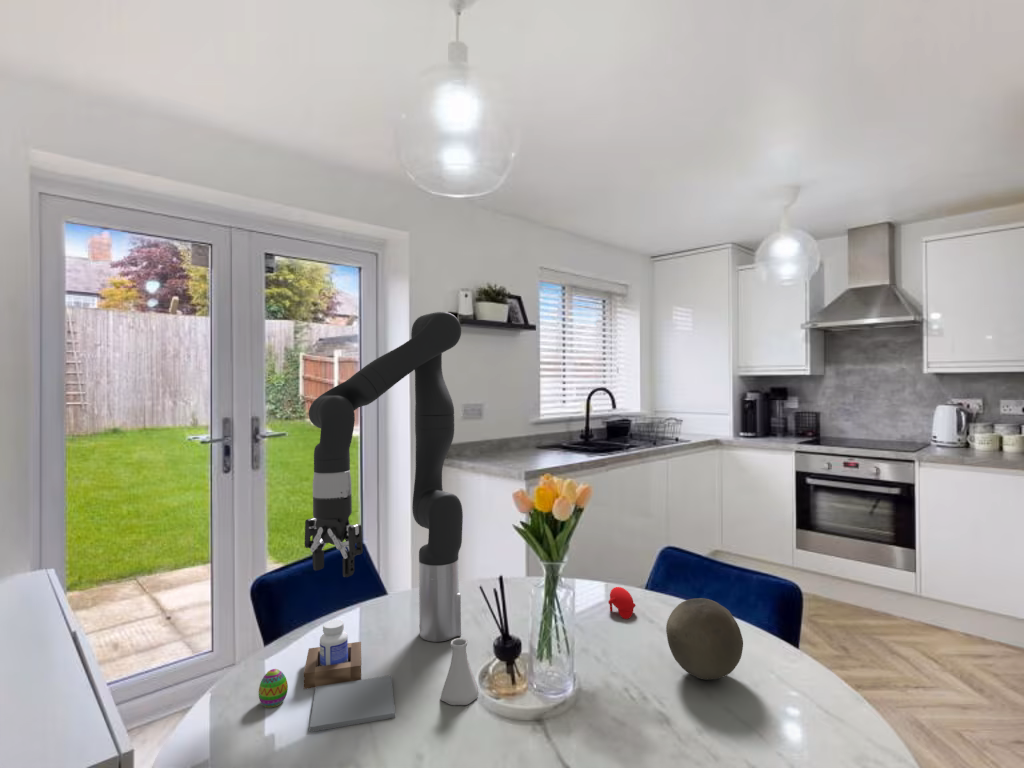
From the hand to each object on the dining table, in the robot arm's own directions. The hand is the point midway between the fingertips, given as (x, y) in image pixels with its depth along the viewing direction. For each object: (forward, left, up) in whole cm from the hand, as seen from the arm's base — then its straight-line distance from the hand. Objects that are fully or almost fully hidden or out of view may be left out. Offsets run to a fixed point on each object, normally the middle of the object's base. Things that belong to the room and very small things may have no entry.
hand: (333, 572), depth 110 cm
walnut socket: (0, 0, -20) cm, 20 cm away
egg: (+10, +9, -20) cm, 24 cm away
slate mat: (-4, +13, -20) cm, 24 cm away
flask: (-23, +16, -20) cm, 35 cm away
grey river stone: (-70, +24, -20) cm, 77 cm away
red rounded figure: (-69, -9, -20) cm, 72 cm away
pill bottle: (0, 0, -20) cm, 20 cm away
